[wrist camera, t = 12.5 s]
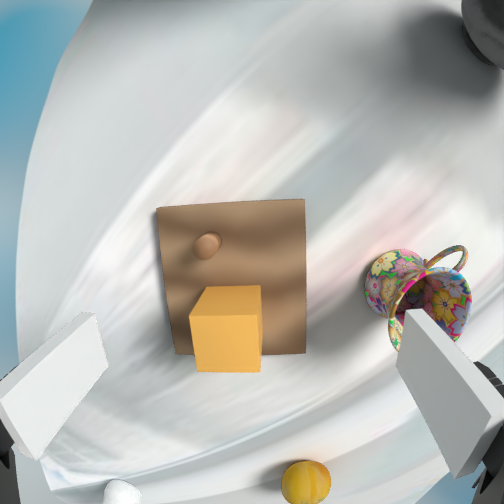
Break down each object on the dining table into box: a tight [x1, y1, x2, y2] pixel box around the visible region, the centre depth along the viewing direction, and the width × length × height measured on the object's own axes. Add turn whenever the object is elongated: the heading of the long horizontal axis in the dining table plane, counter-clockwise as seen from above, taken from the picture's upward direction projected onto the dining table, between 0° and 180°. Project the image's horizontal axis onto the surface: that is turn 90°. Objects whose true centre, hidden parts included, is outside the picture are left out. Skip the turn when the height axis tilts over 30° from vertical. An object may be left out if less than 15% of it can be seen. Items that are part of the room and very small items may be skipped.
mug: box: [365, 245, 472, 352], centre depth 29 cm, size 12×9×11 cm
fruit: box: [281, 461, 331, 504], centre depth 39 cm, size 9×8×8 cm
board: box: [156, 199, 306, 355], centre depth 32 cm, size 18×16×8 cm
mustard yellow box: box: [189, 285, 263, 372], centre depth 31 cm, size 6×6×8 cm
